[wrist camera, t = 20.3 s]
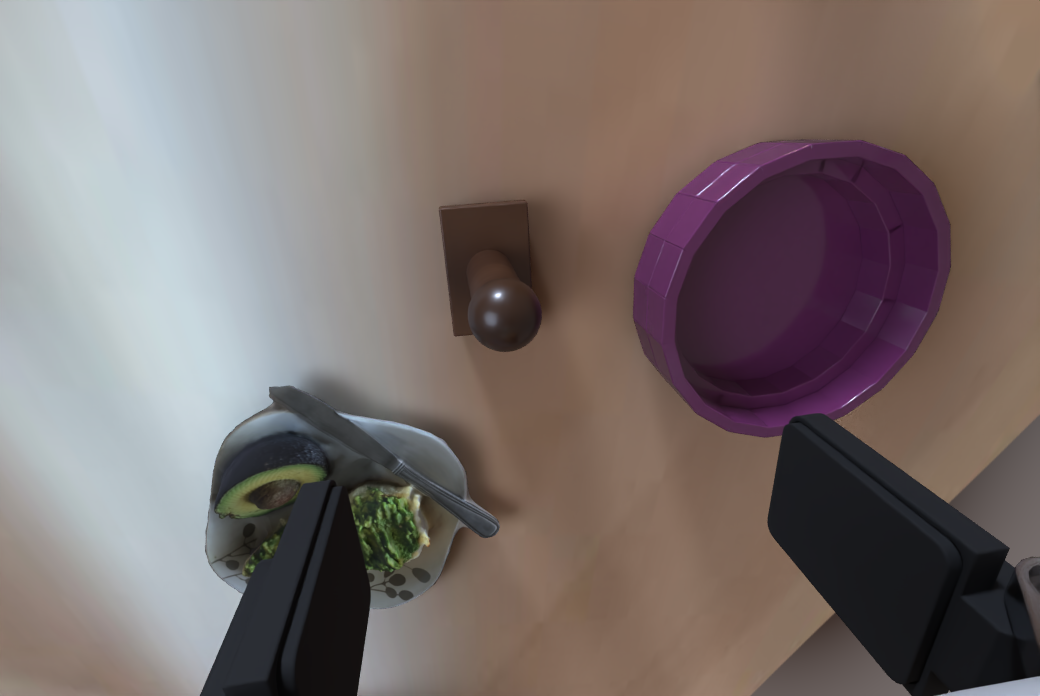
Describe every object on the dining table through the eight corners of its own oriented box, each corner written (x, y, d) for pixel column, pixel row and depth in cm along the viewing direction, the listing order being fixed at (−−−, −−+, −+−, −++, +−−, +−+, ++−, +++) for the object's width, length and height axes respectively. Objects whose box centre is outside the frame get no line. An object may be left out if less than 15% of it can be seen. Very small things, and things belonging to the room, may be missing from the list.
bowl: (632, 150, 30) (672, 153, 25) (903, 131, 32) (990, 130, 27) (625, 410, 37) (655, 453, 32) (847, 381, 39) (908, 417, 34)
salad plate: (530, 423, 36) (543, 462, 32) (460, 605, 42) (463, 658, 37) (237, 359, 31) (205, 394, 27) (204, 575, 37) (173, 632, 33)
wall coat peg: (438, 203, 29) (438, 241, 19) (520, 196, 30) (565, 230, 19) (452, 322, 32) (459, 414, 22) (527, 315, 33) (569, 400, 22)
